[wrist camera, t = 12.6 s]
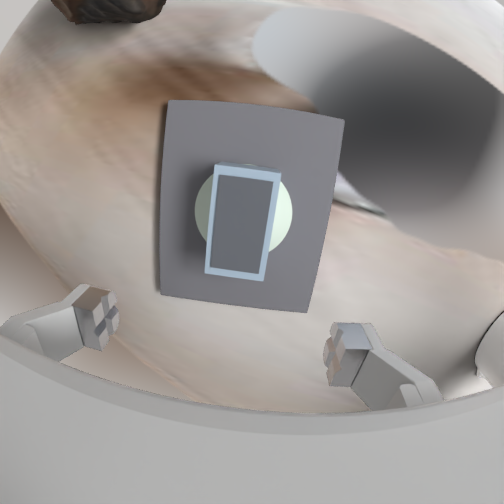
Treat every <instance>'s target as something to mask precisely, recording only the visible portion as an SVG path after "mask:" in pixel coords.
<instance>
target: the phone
mask: <svg viewBox="0 0 504 504" xmlns="http://www.w3.org/2000/svg"><path fill="white" fill-rule="evenodd" d="M280 180H281V172H280V171H279V170H278V169H274V168H267V167H260V166H253V165H245V164H238V163H229V162H220V163H218V164H215V167H214V175H213V184H212V193H211V203H210V213H209V224H208V235H207V247H206V259H205V273H207V274H213V275H220V276H227V277H234V278H241V279H249V280H256V281H264V275H265V270H266V264H267V258H268V252H269V246H270V241H271V235H272V229H273V223H274V217H275V211H276V204H277V198H278V192H279V186H280Z"/></svg>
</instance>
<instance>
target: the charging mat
mask: <svg viewBox="0 0 504 504" xmlns="http://www.w3.org/2000/svg"><path fill="white" fill-rule="evenodd" d="M344 121H345V120H342V119H338V118H334V117H329V116H324V115H319V114H314V113H309V112H303V111H298V110H292V109H285V108H278V107H271V106H263V105H254V104H245V103H233V102H219V101H198V100H169V101H168V109H167V118H166V127H165V137H164V148H163V161H162V176H161V196H160V290H161V295H166V296H172V297H179V298H185V299H192V300H198V301H205V302H213V303H220V304H228V305H236V306H244V307H252V308H261V309H270V310H280V311H290V312H301V313H307V311H308V307H309V303H310V299H311V295H312V291H313V287H314V283H315V279H316V275H317V270H318V266H319V262H320V257H321V253H322V248H323V244H324V239H325V234H326V229H327V225H328V220H329V214H330V209H331V204H332V199H333V193H334V187H335V182H336V176H337V170H338V163H339V156H340V150H341V143H342V137H343V136H342V135H343V129H344ZM220 162H229V163H238V164H245V165H253V166H260V167H267V168H274V169H278V170H279V171H280V172H281V180H280V186H279V192H278V198H277V204H276V211H275V217H274V223H273V229H272V235H271V241H270V246H269V252H268V258H267V264H266V270H265V275H264V281H256V280H249V279H241V278H234V277H227V276H220V275H213V274H207V273H205V259H206V247H207V235H208V224H209V213H210V203H211V193H212V184H213V175H214V167H215V164H218V163H220Z"/></svg>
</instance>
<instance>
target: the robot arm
mask: <svg viewBox="0 0 504 504" xmlns="http://www.w3.org/2000/svg"><path fill="white" fill-rule="evenodd" d="M116 302H117V297H116V293H115V292H114V291H112V290H108V289H104V288H100V287H96V286H92V285H88V284H80V285H79V286H78V287H76V288H75V289H74V290H73V291H72V292H71V293H70V294H69V295H68V296H67V297H66V298H64V299H63V300H62V301H61V302H55V303H52V304H49V305H46V306H43V307H40V308H36V309H33V310H30V311H27V312H24V313H21V314H18V315H15V316H12V317H10V318H9V320H7V321H6V322H5V323H4V324H3V325H2V326H1V327H0V504H504V312H503V313H502V314H501V315H500V316H499V318H498V319H497V320H496V321H495V322H494V323H493V325H492V326H491V327H490V329H489V330H488V331H487V333H486V334H485V336H484V338H483V339H482V341H481V343H480V345H479V347H478V350H477V352H476V356H475V364H476V366H477V368H478V369H477V376H478V377H479V378H482V377H484V378H485V379H486V380H487V381H488V382H489V383H490V385H491V386H492V387H493V388H492V389H489V390H485V391H482V392H478V393H475V394H471V395H467V396H463V397H459V398H454V399H450V400H445V401H444V399H443V397H442V395H441V393H440V391H439V389H438V387H437V385H436V384H435V382H434V380H432V379H431V378H429V377H428V376H426V375H425V374H424V373H422V372H421V371H419V370H418V369H416V368H415V367H413V366H412V365H410V364H409V363H407V362H406V361H405V360H403V359H402V358H400V357H399V356H397V355H396V354H394V353H393V352H391V351H390V350H386V349H385V347H384V345H383V344H382V342H381V340H380V338H379V336H378V334H377V332H376V330H375V328H374V326H373V325H372V324H371V323H339V322H334V323H333V324H332V326H331V329H330V334H331V337H330V338H329V339H328V340H326V343H325V347H324V353H323V360H324V364H325V365H326V366H327V367H328V370H327V378H328V382H329V386H346V387H351V388H352V389H353V391H354V392H355V393H356V394H357V395H358V396H359V397H360V398H361V399H362V400H363V401H364V402H365V404H366V405H367V406H368V407H369V408H370V409H371V410H372V411H363V412H345V413H292V412H273V411H261V410H250V409H241V408H232V407H225V406H218V405H211V404H205V403H199V402H193V401H188V400H183V399H178V398H173V397H168V396H164V395H159V394H155V393H151V392H147V391H143V390H140V389H136V388H132V387H129V386H125V385H122V384H119V383H115V382H112V381H109V380H106V379H102V378H100V377H97V376H94V375H91V374H88V373H85V372H83V371H80V370H77V369H75V368H72V367H70V366H67V365H65V364H62V363H60V362H59V361H61V360H62V359H64V358H66V357H68V356H69V355H71V354H73V353H74V352H76V351H78V350H79V349H81V348H83V347H84V346H86V347H89V348H93V349H96V350H99V351H102V350H103V349H104V347H105V346H106V345H107V343H108V342H109V337H108V336H109V335H112V334H114V333H115V331H116V330H117V328H118V324H119V311H118V309H117V308H116V306H115V303H116Z"/></svg>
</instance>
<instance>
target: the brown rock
mask: <svg viewBox="0 0 504 504" xmlns="http://www.w3.org/2000/svg"><path fill="white" fill-rule="evenodd" d="M51 1H52V2H53V4H54V5H55V6H56V7H57V8H58V9H59V10H60V11H61V12H62V13H63V14H64V15H65V16H66V18H67V20H68V21H70V22H75V24H76V25H77V24H82V23H92V22H94V23H100V22H105V21H109V22H112V23H117V22H121V21H129V22H132V23H140V22H143V21H146V20H150V19H152V18H154V17H156V16H157V15H158V14H159V13H160V12H161V10H162V7H163V5H165V3H166V0H51Z"/></svg>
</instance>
